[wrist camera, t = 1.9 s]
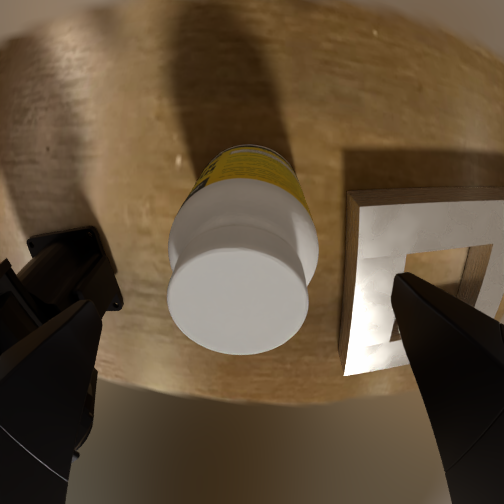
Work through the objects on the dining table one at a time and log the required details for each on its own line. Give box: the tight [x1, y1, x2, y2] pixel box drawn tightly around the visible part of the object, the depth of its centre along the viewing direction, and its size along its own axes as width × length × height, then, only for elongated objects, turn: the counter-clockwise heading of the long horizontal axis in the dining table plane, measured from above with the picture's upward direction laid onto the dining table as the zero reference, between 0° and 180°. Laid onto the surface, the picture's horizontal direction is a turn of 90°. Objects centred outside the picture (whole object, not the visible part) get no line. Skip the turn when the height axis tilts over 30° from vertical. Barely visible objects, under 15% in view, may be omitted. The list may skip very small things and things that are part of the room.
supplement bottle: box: [167, 145, 319, 355], centre depth 13 cm, size 5×5×10 cm
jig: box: [338, 187, 504, 376], centre depth 18 cm, size 13×13×2 cm
